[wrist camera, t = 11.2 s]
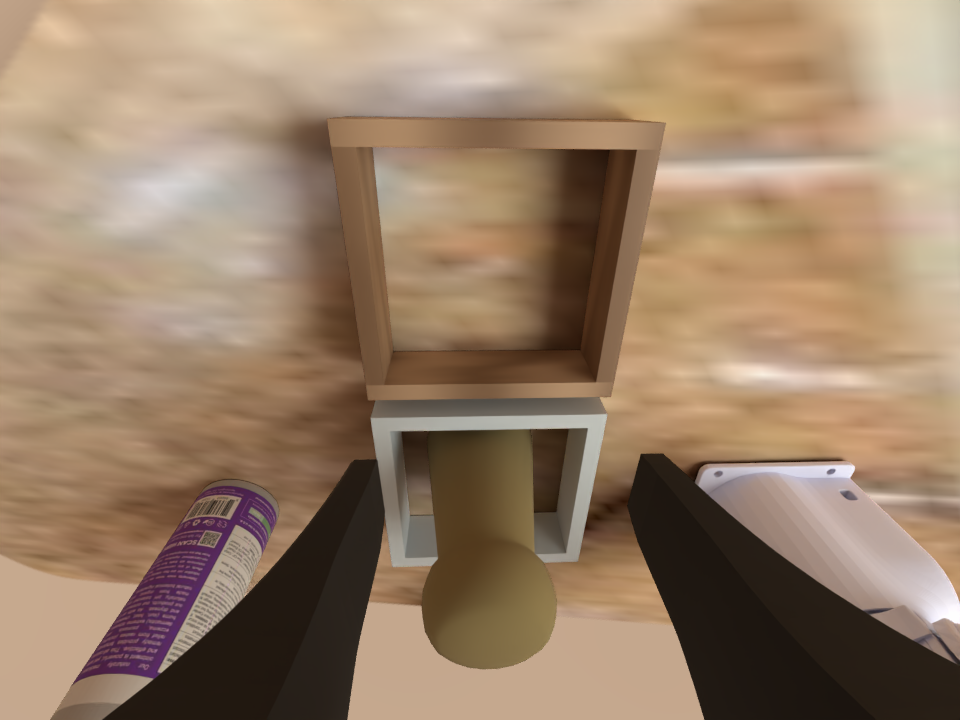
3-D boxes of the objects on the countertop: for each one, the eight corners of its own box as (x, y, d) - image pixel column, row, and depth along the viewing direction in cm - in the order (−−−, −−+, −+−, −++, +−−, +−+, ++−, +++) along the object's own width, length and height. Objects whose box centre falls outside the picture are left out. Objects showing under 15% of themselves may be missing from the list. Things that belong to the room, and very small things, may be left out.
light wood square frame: (634, 119, 17) (665, 122, 14) (593, 363, 22) (611, 396, 20) (347, 116, 16) (326, 118, 14) (378, 365, 22) (367, 400, 19)
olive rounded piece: (416, 408, 23) (386, 613, 14) (527, 392, 23) (574, 590, 14) (437, 486, 27) (425, 699, 17) (535, 473, 26) (578, 681, 17)
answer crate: (590, 379, 23) (607, 414, 20) (567, 520, 29) (578, 561, 26) (380, 382, 22) (370, 418, 20) (398, 524, 28) (392, 567, 25)
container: (190, 516, 27) (-58, 895, 14) (211, 468, 25) (-54, 856, 12) (265, 540, 28) (102, 905, 15) (290, 496, 26) (129, 871, 14)
